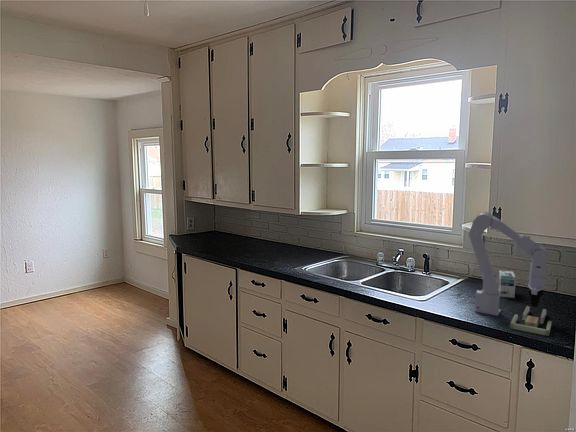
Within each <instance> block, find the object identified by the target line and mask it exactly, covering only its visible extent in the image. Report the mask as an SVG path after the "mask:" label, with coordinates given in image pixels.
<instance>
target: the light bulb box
mask: <svg viewBox="0 0 576 432" xmlns="http://www.w3.org/2000/svg"><path fill="white" fill-rule="evenodd" d="M498 278H499V280H500V284H499V289H498V290H499V291H500V298H511V299H515V297H516V296H515V294H516V281H517V280H516V279H517V277H516V275H515V272H514V271H512V270H499V271H498Z"/></svg>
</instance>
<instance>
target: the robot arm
mask: <svg viewBox="0 0 576 432" xmlns="http://www.w3.org/2000/svg"><path fill="white" fill-rule="evenodd" d="M488 228H490V230H497V231H499V232H500V233H502V234H503V235H505V236H507V238H510V239H511V240H512V241H513V243H514V246H515V247H517V248H518V249H520V250H521V251H523V252H524V253H525V254H527V255H529V256H531V263H530V267H529V278H528V279H529V280H528V285H527V287H528V289H527V292H528V295H529V298H530V304H531V305H530V306H531V307H532V308H538V306H539V303H540V300H541V297H542V296H543V295H544V293H545V290H548V286H547V285H546V286H545V283H546V274H547V263H548V262H547V260H548V258H549V255H548V254H549V253H548V250H547V249H546V248H545V247H544V246H542V245H541V244H540V243H536V241H534V240H533V239H531V236H530V235H525V234H519V233H518V232H517V231H515V229H513V228H511V227H510V226H509V225H507V224H506V223H505V222H503V221H502V220H501V219H499V218H498V217H497V216H494V215H492V214H491V213H490V212H488V211H482V212H480V213H479V214H478V215H476V217H475V218H474V220H473V221H472V224H471V227H470V229H469V231H468V232H469V233H468V236H469V239H470V243H471V245H472V248H473V253H474V255H475V257H476V260H477V263H478V266H479V270H480V272H481V279H482V289H481V290H479V289H477V290H476V294H475V300H474V301H475V302H474V312H476V313H480V314H486V315H492V316H497V317H498V316H499V314H500V313H501V311H502V310H501V309H500V298H501V297H500V291H499V290H498V289H499V284H500V280H499V276H497V275H496V273H495V271H494V269H493V267H492V266H493V265H492V264H491V260H490V257H489V255H488V251H487V248H486V246H485V242H484V239H483V236H482V235H483V234H484V232H485V231H486V230H487V229H488Z"/></svg>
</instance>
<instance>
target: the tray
mask: <svg viewBox="0 0 576 432" xmlns="http://www.w3.org/2000/svg"><path fill="white" fill-rule="evenodd" d="M518 318H519V315H518V314H514V316H513V317H512V319H511V322H510V324H509V329H513V330H517V331H522V332H527V333H532V334H537V335H542V336H547V337H550V333H551V328H552V323H553V321H552V320H548V321H547V324H546V327H545V328H546V329H545V328H540V327H537V328H536V327H531V326H526V325H525V324H520V323H517V322H518V320H519V319H518Z"/></svg>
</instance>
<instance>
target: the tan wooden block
mask: <svg viewBox="0 0 576 432" xmlns="http://www.w3.org/2000/svg"><path fill="white" fill-rule="evenodd" d="M524 325H526V326H531V327H536V328H538V326H537V320H532V319H526V320H524Z"/></svg>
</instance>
